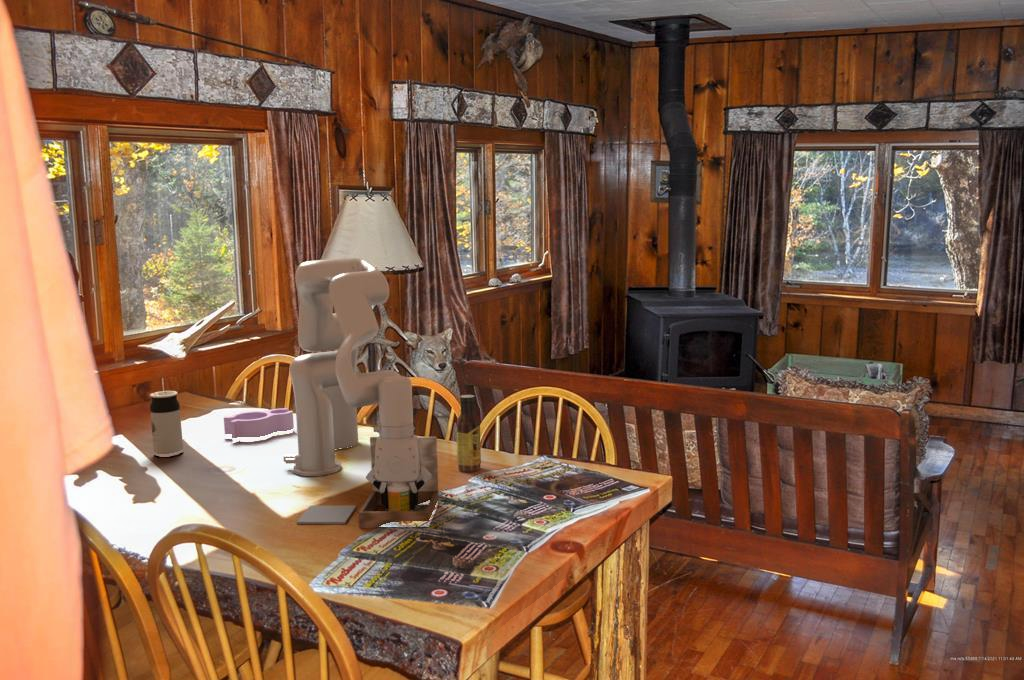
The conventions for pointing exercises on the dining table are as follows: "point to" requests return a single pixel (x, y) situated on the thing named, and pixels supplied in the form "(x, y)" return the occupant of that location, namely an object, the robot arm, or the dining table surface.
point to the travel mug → (166, 422)
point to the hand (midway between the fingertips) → (400, 507)
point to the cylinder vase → (342, 419)
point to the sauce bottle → (468, 436)
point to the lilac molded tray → (258, 423)
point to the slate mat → (326, 515)
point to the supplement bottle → (399, 496)
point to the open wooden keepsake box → (425, 493)
